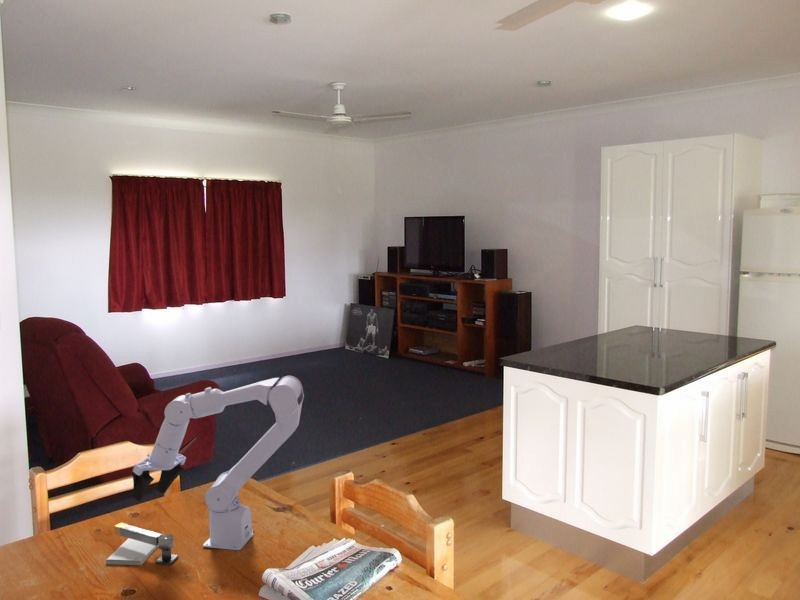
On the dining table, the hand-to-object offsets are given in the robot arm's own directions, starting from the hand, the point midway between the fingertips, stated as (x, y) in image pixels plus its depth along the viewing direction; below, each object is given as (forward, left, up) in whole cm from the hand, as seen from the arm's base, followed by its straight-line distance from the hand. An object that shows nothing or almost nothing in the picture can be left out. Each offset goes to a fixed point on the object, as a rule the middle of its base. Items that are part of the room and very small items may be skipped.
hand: (148, 495), depth 155 cm
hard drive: (+1, +5, -12) cm, 13 cm away
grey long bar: (-2, +6, -8) cm, 10 cm away
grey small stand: (-9, +8, -12) cm, 16 cm away
